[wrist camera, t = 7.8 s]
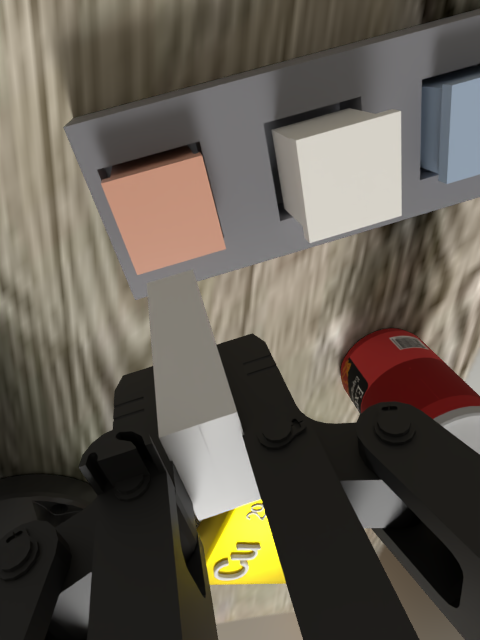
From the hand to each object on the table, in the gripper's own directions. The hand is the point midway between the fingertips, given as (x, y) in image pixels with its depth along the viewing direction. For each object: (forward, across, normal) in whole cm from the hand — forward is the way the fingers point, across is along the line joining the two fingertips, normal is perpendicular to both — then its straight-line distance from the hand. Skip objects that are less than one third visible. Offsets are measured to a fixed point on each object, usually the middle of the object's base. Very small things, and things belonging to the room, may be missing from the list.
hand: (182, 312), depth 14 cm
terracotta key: (+14, 0, 0) cm, 14 cm away
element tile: (+17, +1, -36) cm, 40 cm away
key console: (+16, +9, 0) cm, 18 cm away
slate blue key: (+14, +18, 0) cm, 23 cm away
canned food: (+16, +14, -20) cm, 29 cm away
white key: (+12, +9, 0) cm, 15 cm away
